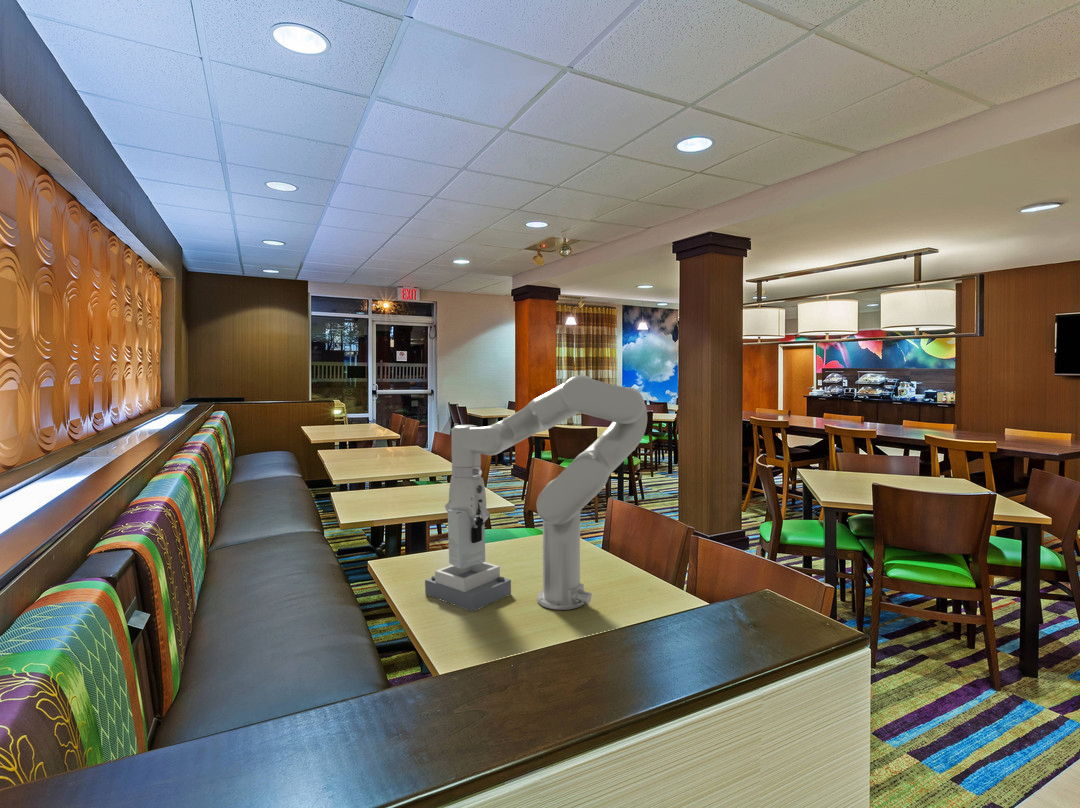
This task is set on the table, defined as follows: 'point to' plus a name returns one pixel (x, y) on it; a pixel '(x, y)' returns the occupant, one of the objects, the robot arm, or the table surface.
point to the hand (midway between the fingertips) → (466, 538)
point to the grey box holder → (468, 585)
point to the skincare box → (463, 540)
